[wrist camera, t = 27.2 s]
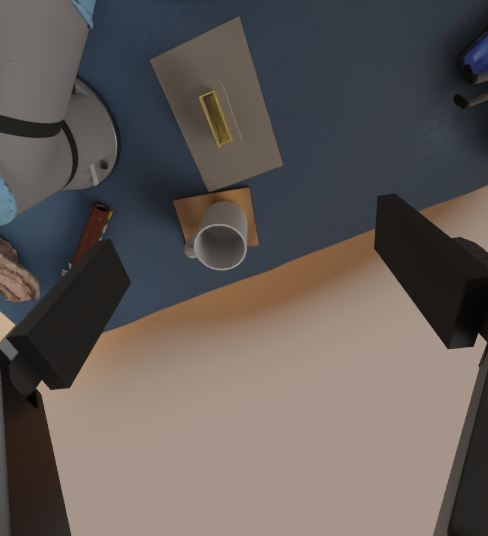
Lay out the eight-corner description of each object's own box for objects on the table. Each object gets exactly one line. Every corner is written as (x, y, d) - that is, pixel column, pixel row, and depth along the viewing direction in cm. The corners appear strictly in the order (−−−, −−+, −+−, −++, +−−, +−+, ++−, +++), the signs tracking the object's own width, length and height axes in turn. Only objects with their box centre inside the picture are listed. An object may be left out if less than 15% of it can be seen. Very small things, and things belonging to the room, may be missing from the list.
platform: (239, 15, 34) (237, 3, 29) (283, 165, 43) (287, 178, 38) (149, 59, 37) (131, 56, 31) (208, 192, 46) (203, 208, 40)
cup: (254, 231, 49) (255, 260, 41) (200, 252, 51) (192, 282, 43) (236, 192, 45) (233, 215, 38) (179, 216, 47) (166, 242, 40)
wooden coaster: (191, 253, 52) (190, 255, 51) (173, 199, 46) (172, 200, 46) (258, 243, 50) (258, 245, 50) (248, 186, 45) (248, 187, 45)
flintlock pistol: (100, 332, 58) (46, 312, 55) (107, 319, 61) (56, 300, 58) (147, 236, 46) (82, 205, 43) (152, 226, 49) (92, 196, 46)
